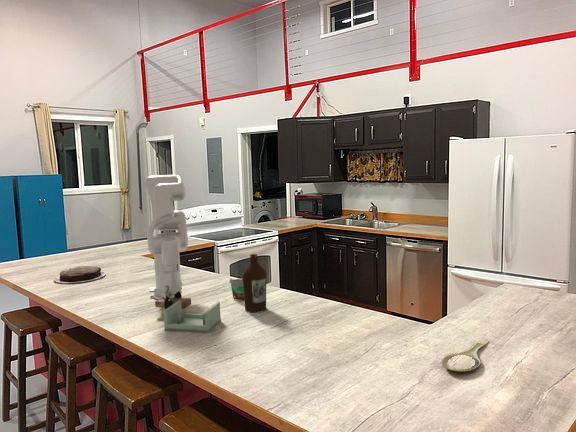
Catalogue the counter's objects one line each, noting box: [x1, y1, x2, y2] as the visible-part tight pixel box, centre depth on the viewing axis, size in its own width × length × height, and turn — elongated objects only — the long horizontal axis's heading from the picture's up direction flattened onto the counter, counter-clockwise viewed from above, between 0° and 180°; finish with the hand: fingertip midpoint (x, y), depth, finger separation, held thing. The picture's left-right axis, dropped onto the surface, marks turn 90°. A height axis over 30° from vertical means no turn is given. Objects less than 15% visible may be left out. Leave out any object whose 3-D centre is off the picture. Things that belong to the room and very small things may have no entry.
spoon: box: [441, 338, 490, 373], centre depth 155 cm, size 35×11×2 cm, turn 141°
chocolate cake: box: [53, 265, 107, 285], centre depth 277 cm, size 28×28×7 cm
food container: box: [229, 277, 245, 301], centre depth 226 cm, size 12×6×10 cm, turn 105°
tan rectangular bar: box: [161, 307, 187, 316], centre depth 206 cm, size 10×3×4 cm, turn 79°
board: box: [154, 297, 192, 309], centre depth 205 cm, size 14×6×3 cm, turn 79°
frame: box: [163, 301, 221, 334], centre depth 191 cm, size 18×14×8 cm
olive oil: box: [241, 253, 267, 313], centre depth 209 cm, size 11×11×25 cm
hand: (173, 306), depth 205 cm, fingers open, 9 cm apart
